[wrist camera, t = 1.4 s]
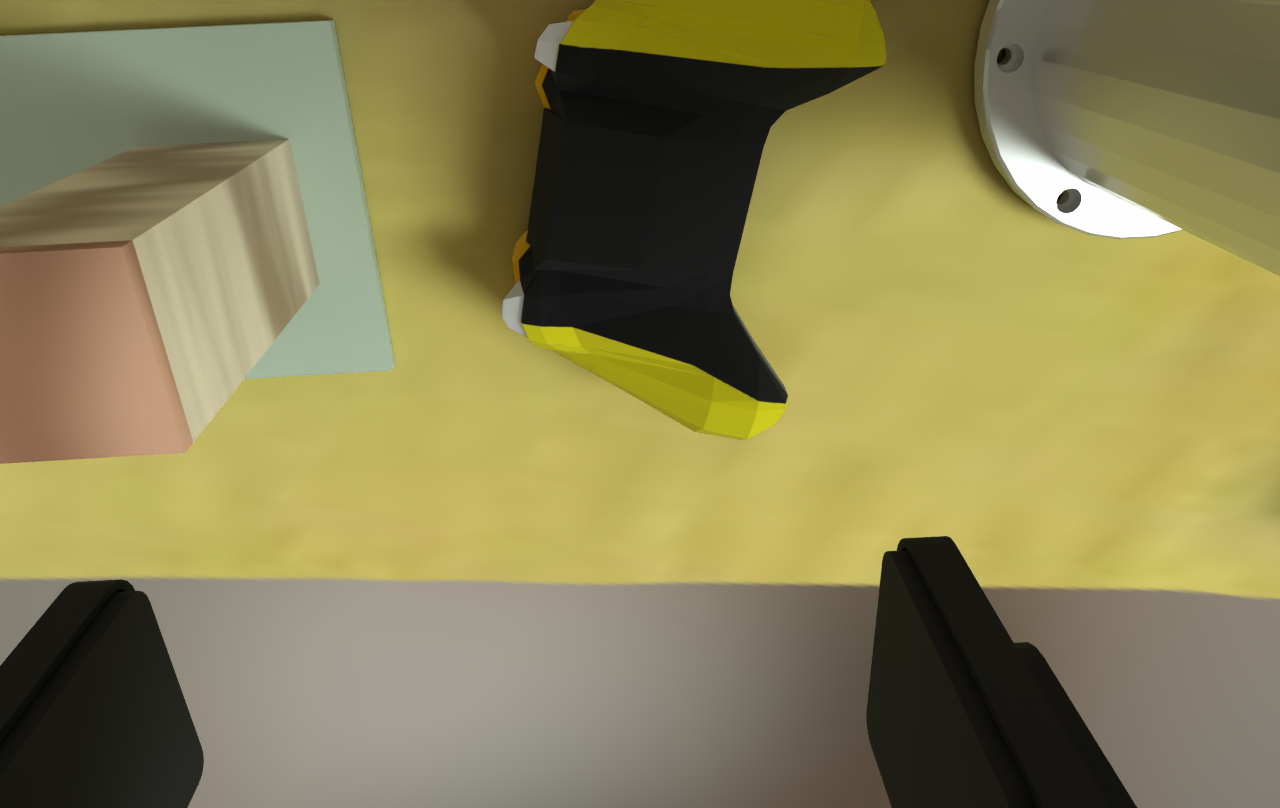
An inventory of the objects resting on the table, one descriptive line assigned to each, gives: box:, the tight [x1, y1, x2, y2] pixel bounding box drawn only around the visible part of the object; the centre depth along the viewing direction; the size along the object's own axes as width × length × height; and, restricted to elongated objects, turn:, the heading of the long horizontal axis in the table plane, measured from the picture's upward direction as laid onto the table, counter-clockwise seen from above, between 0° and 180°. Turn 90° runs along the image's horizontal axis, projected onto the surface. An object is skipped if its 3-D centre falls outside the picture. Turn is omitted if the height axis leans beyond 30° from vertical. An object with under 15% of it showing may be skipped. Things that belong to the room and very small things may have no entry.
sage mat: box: [0, 20, 395, 379], centre depth 31 cm, size 20×12×1 cm, turn 92°
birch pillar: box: [0, 139, 320, 464], centre depth 26 cm, size 5×5×12 cm
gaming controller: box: [502, 0, 886, 440], centre depth 29 cm, size 15×6×10 cm
